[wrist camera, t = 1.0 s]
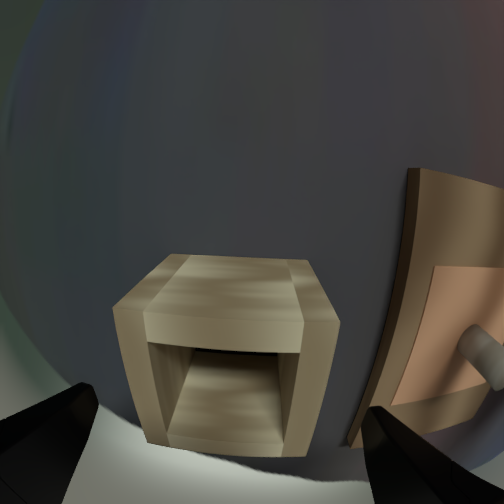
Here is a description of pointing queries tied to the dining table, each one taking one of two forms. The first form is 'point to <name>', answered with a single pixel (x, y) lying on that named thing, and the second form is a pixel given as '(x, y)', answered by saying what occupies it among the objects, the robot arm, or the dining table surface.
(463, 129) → the dining table surface
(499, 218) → the post board
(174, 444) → the collar
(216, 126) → the dining table surface
